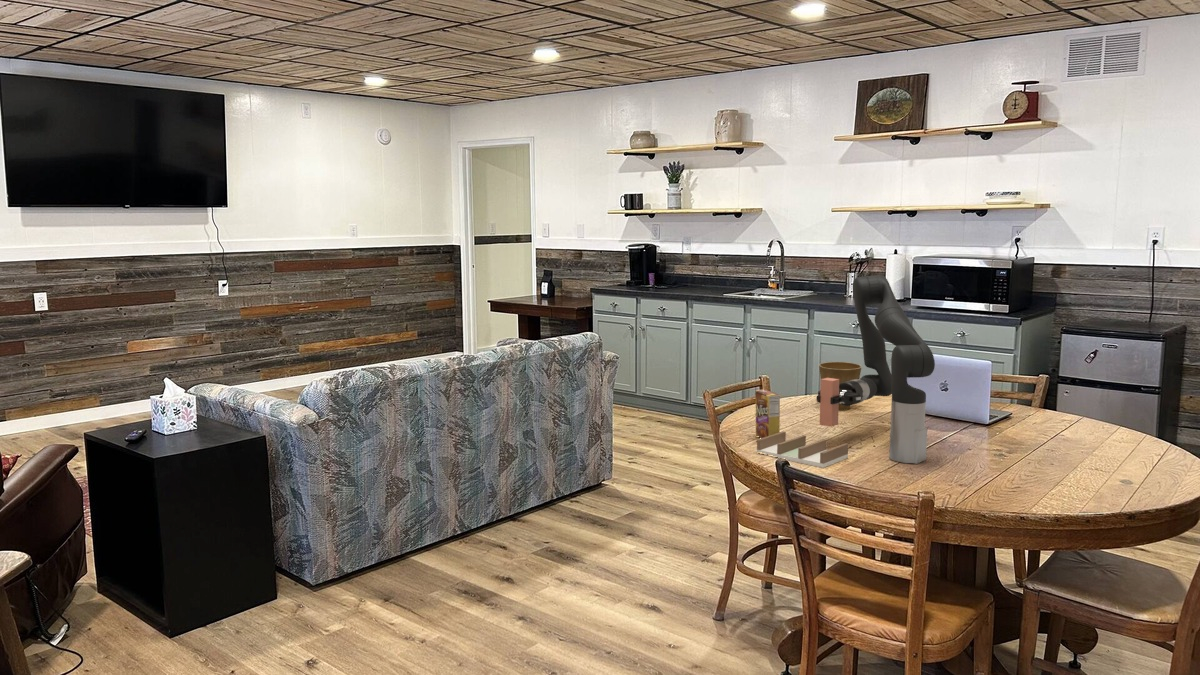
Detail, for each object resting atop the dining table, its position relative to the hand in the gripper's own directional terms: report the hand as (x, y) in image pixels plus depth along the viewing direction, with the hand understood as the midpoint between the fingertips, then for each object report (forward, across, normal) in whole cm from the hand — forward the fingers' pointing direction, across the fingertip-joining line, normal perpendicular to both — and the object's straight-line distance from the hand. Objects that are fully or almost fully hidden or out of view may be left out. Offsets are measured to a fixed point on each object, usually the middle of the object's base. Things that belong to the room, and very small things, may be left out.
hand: (824, 400), depth 264 cm
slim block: (-3, 0, +8) cm, 8 cm away
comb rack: (+12, 0, +15) cm, 19 cm away
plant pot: (-53, -24, +14) cm, 60 cm away
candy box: (+3, -18, +15) cm, 24 cm away
